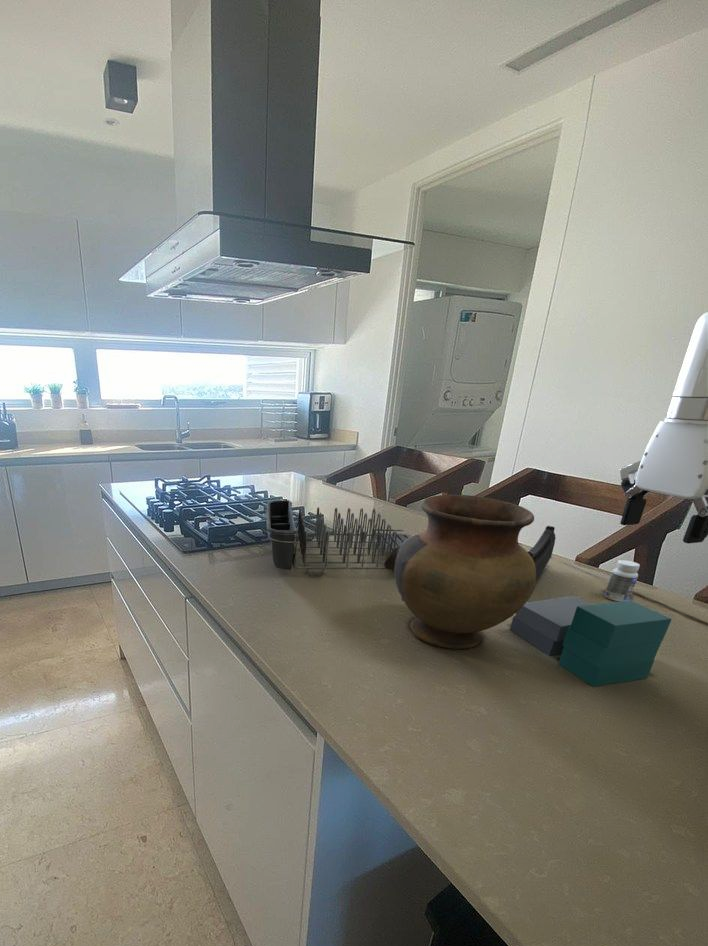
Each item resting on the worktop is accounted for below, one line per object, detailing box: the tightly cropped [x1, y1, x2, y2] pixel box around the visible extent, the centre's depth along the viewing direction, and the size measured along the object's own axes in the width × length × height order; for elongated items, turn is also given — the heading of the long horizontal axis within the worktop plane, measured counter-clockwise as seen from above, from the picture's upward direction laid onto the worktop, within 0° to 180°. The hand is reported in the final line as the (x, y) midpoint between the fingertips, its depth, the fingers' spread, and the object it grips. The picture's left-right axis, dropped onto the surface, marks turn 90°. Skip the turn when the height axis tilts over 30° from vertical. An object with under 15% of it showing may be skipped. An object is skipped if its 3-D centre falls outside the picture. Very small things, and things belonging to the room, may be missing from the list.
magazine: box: [527, 525, 556, 582], centre depth 115 cm, size 17×3×30 cm
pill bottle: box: [604, 559, 641, 602], centre depth 108 cm, size 5×5×8 cm
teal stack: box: [558, 627, 662, 687], centre depth 80 cm, size 11×7×7 cm, turn 104°
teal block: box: [570, 599, 672, 648], centre depth 78 cm, size 11×7×4 cm, turn 104°
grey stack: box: [509, 595, 593, 657], centre depth 90 cm, size 14×10×6 cm
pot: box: [383, 494, 537, 650], centre depth 87 cm, size 25×24×25 cm
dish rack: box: [265, 499, 412, 577], centre depth 128 cm, size 34×44×12 cm
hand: (659, 532), depth 73 cm, fingers open, 9 cm apart
